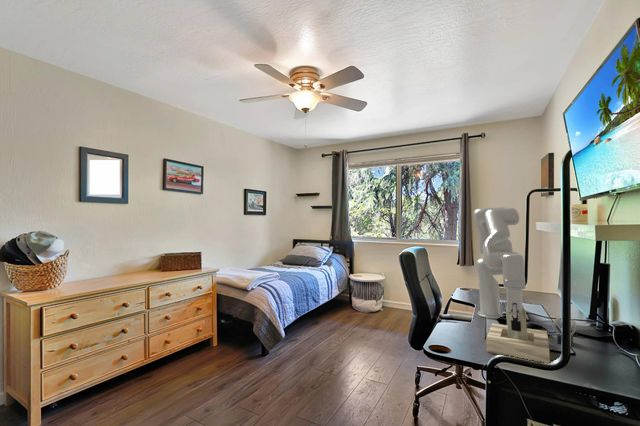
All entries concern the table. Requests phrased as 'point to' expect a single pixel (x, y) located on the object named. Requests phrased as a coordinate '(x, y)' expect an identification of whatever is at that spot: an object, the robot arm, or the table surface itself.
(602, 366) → the table surface
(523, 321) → the skincare box
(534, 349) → the organizer
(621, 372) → the table surface
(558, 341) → the watch
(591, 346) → the table surface
